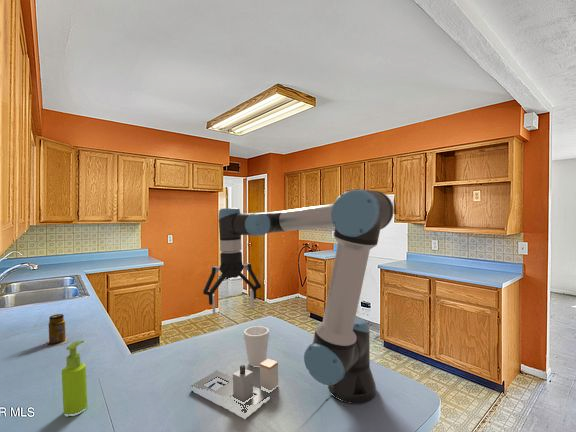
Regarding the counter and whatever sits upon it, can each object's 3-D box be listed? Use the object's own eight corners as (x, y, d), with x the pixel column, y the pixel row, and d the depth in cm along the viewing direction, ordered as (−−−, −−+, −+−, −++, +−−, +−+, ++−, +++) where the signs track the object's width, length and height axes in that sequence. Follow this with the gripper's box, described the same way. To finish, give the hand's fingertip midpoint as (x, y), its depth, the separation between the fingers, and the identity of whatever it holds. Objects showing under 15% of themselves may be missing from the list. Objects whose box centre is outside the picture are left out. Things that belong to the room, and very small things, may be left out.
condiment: (66, 337, 148) (65, 312, 148) (67, 342, 142) (66, 316, 141) (46, 341, 143) (45, 315, 143) (47, 347, 137) (46, 320, 136)
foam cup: (246, 373, 113) (245, 337, 112) (243, 360, 121) (242, 327, 121) (272, 368, 115) (271, 334, 115) (267, 357, 124) (266, 324, 124)
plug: (278, 388, 102) (277, 361, 102) (270, 395, 99) (269, 367, 99) (268, 384, 105) (267, 358, 105) (260, 391, 102) (259, 363, 101)
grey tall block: (253, 400, 96) (252, 365, 95) (243, 408, 92) (242, 371, 92) (243, 396, 98) (242, 361, 98) (233, 403, 95) (232, 367, 94)
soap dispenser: (93, 401, 98) (90, 338, 97) (79, 416, 91) (76, 349, 90) (74, 402, 97) (71, 339, 97) (58, 417, 91) (55, 349, 90)
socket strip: (270, 401, 96) (270, 393, 96) (245, 421, 87) (245, 413, 87) (217, 377, 110) (216, 370, 110) (191, 393, 101) (190, 385, 101)
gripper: (262, 247, 119) (265, 303, 119) (194, 252, 111) (196, 312, 112) (267, 250, 112) (269, 309, 112) (194, 255, 104) (197, 319, 104)
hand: (233, 310), depth 112 cm, fingers open, 13 cm apart
